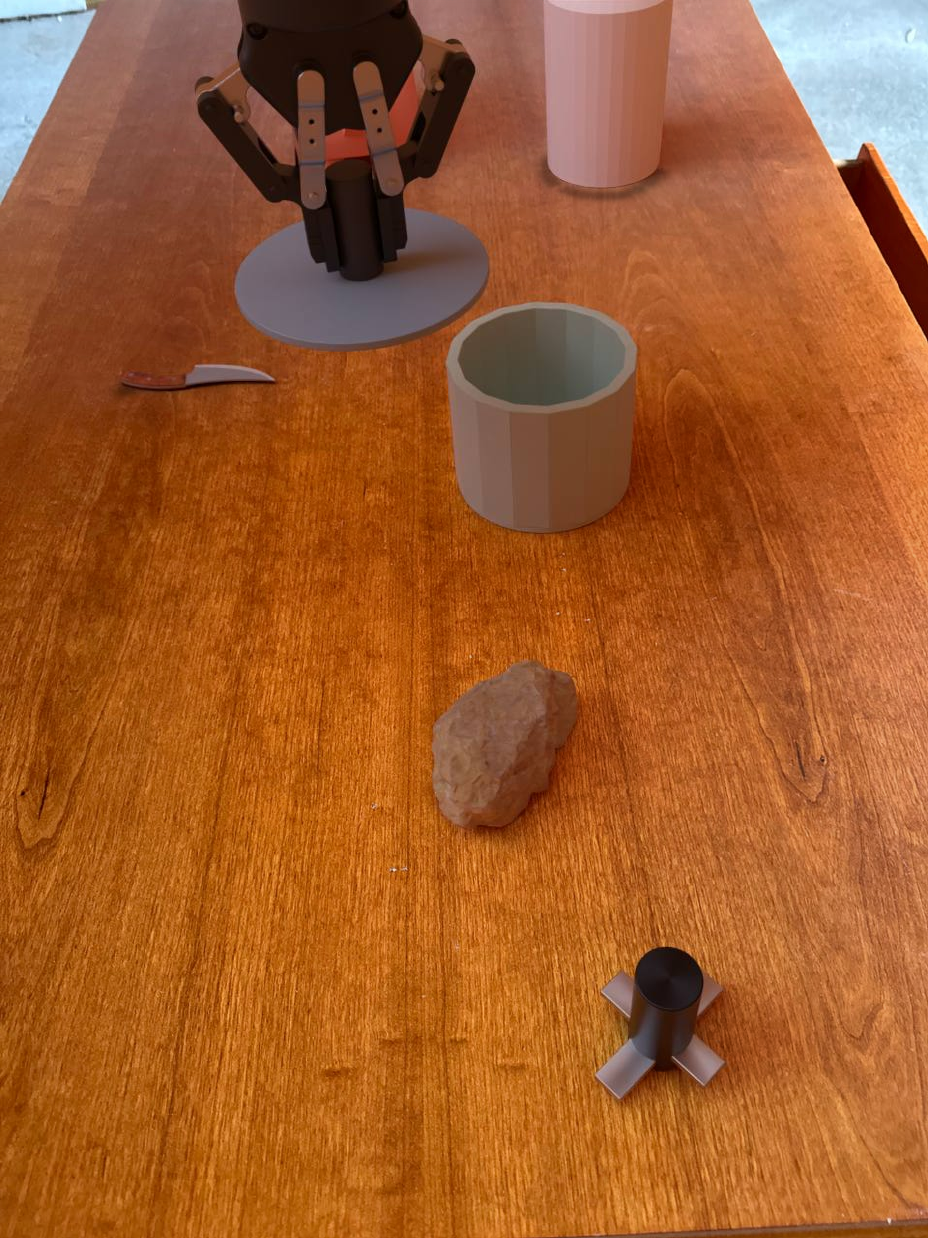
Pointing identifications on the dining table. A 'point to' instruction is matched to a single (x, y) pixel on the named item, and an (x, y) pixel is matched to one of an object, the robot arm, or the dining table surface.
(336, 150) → the teapot
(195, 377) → the knife
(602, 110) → the bottle
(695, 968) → the blade unit
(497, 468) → the processor bowl
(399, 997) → the dining table surface
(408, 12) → the robot arm
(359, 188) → the lid
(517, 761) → the stone tool
